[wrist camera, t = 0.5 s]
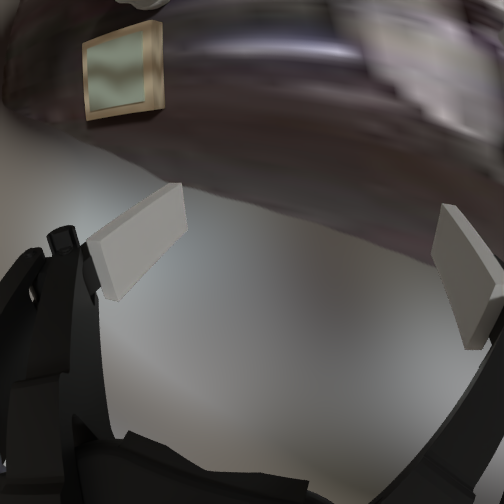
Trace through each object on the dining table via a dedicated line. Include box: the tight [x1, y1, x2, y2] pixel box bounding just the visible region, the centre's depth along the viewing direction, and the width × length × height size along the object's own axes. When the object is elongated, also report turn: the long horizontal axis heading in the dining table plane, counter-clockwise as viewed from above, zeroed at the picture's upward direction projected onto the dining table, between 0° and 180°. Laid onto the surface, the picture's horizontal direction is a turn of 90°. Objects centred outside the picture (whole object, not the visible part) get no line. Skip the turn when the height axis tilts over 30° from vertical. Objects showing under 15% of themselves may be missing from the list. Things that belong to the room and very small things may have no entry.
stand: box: [82, 20, 165, 121], centre depth 37 cm, size 14×14×3 cm
